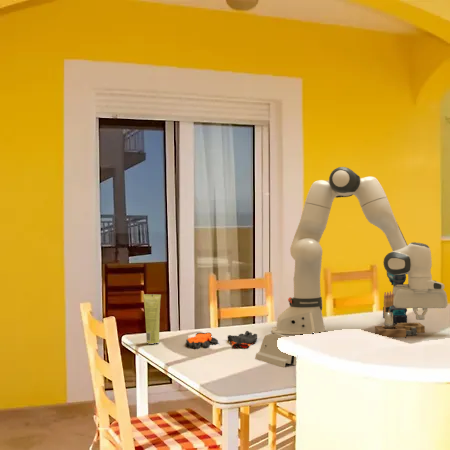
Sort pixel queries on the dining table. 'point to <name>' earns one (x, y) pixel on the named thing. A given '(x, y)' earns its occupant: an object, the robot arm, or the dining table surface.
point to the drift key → (411, 331)
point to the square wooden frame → (407, 326)
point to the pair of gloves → (206, 340)
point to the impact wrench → (398, 313)
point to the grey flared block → (274, 352)
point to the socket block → (391, 331)
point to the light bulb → (388, 320)
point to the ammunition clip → (388, 302)
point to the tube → (152, 317)
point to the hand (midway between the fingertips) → (420, 319)
